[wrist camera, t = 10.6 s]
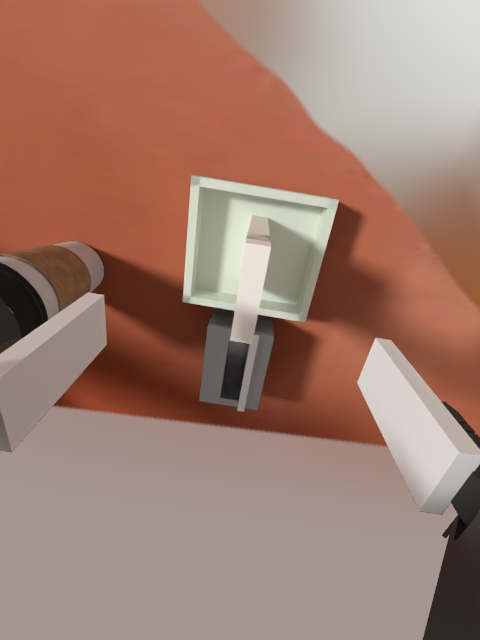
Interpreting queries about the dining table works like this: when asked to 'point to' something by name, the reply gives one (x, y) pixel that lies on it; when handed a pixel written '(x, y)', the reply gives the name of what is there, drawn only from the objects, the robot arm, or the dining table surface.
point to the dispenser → (235, 362)
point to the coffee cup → (44, 284)
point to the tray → (230, 236)
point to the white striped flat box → (251, 280)
